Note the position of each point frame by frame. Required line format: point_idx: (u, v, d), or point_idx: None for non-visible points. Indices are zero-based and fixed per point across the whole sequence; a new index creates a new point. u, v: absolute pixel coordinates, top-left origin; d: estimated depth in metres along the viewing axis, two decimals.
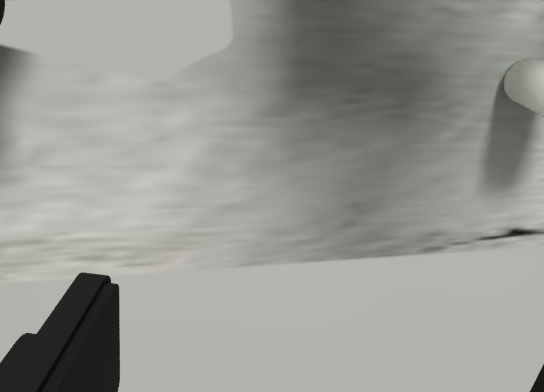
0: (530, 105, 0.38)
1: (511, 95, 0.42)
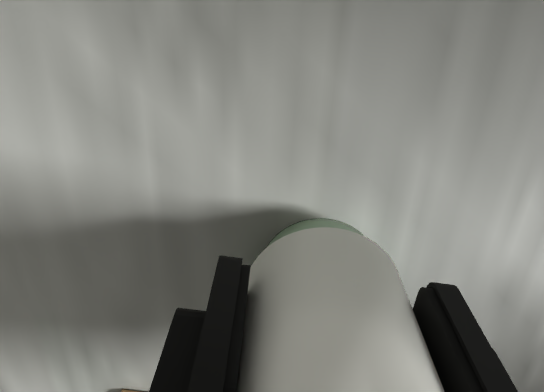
0: None
1: (280, 266, 0.10)
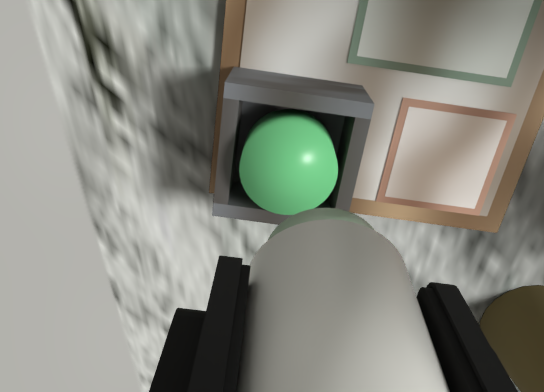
0: None
1: (283, 262, 0.10)
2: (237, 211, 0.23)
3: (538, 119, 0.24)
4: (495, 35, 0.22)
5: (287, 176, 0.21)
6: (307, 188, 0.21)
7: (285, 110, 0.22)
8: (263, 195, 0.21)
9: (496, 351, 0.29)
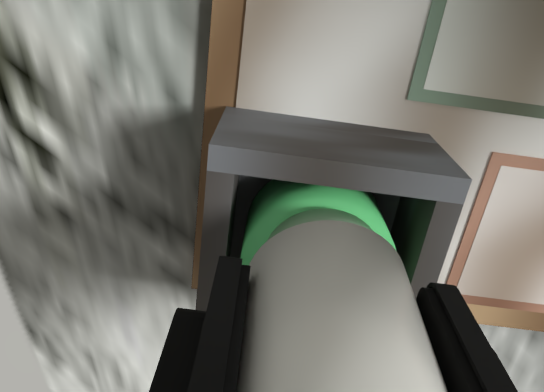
0: None
1: (282, 262, 0.10)
2: None
3: None
4: None
5: None
6: None
7: None
8: None
9: None
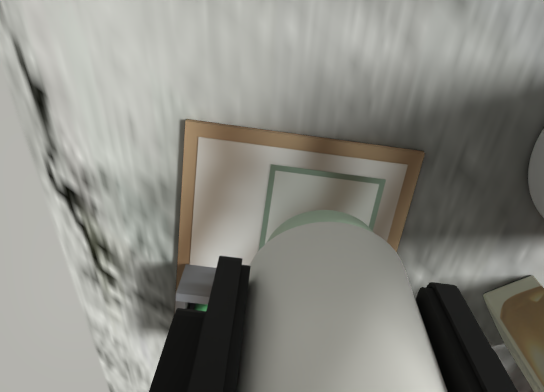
0: None
1: (281, 264, 0.10)
2: None
3: None
4: None
5: None
6: None
7: None
8: None
9: None
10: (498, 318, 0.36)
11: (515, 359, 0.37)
